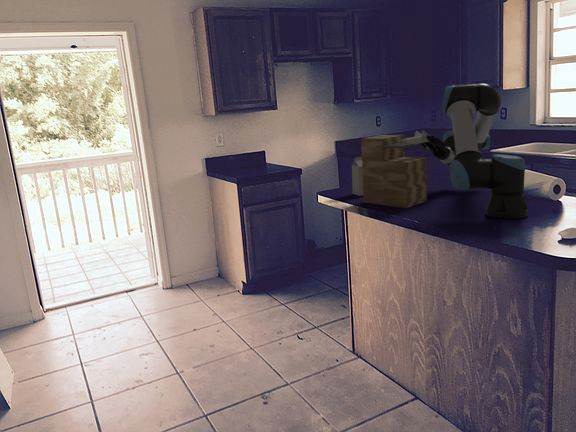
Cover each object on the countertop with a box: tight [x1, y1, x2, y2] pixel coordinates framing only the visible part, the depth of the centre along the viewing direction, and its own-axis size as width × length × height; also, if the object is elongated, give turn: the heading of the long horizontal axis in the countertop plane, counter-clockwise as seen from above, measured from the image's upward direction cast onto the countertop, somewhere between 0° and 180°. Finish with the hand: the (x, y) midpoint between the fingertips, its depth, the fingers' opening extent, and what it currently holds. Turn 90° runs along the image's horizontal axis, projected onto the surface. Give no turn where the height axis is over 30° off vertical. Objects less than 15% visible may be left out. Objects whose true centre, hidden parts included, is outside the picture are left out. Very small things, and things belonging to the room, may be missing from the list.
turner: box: [383, 136, 427, 149], centre depth 224 cm, size 27×10×3 cm, turn 131°
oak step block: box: [361, 134, 428, 209], centre depth 228 cm, size 16×24×30 cm, turn 41°
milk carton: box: [351, 156, 363, 197], centre depth 252 cm, size 7×7×19 cm
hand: (419, 133), depth 227 cm, fingers closed on turner, 3 cm apart
